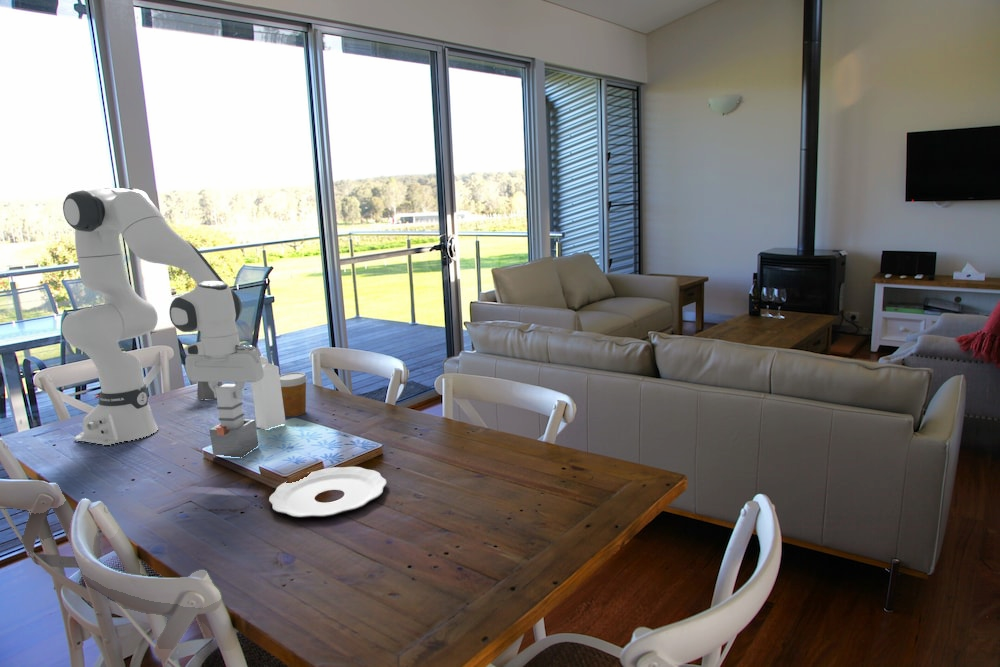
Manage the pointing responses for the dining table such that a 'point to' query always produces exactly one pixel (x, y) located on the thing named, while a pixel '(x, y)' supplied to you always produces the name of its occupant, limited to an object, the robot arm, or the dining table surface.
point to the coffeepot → (205, 390)
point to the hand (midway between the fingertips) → (228, 397)
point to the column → (229, 407)
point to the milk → (268, 397)
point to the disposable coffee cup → (293, 393)
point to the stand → (234, 439)
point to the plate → (301, 494)
